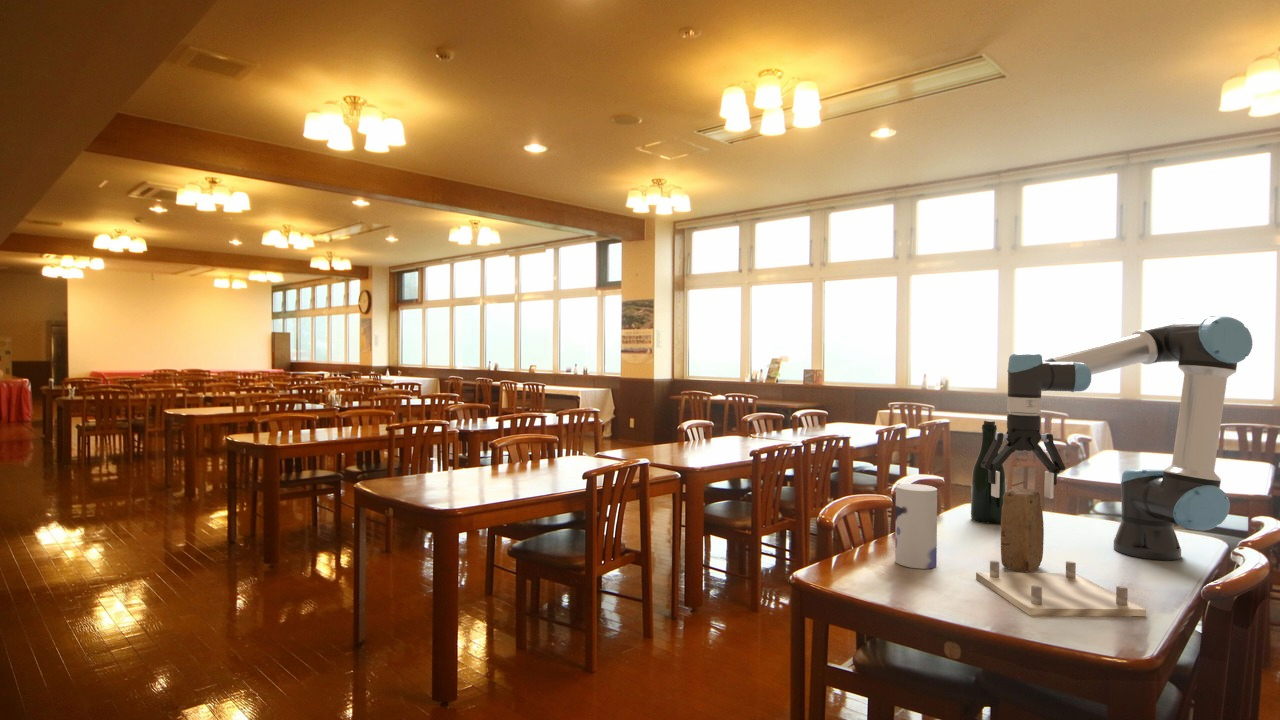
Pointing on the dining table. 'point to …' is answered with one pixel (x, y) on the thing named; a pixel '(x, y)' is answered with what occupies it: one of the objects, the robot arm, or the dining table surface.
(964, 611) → the dining table surface
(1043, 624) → the dining table surface
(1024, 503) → the block
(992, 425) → the beer bottle
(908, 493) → the container
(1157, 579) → the dining table surface
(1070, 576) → the peg stand
